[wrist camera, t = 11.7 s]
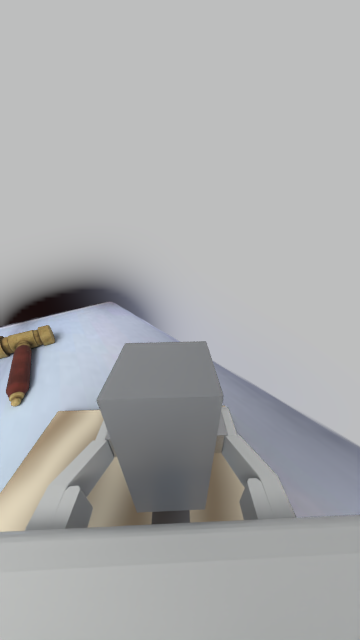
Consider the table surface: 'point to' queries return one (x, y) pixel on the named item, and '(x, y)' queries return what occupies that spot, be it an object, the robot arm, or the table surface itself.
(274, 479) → the robot arm
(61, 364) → the table surface
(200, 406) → the tall grey pillar
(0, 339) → the gavel
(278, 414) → the table surface
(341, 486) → the table surface
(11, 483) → the board
